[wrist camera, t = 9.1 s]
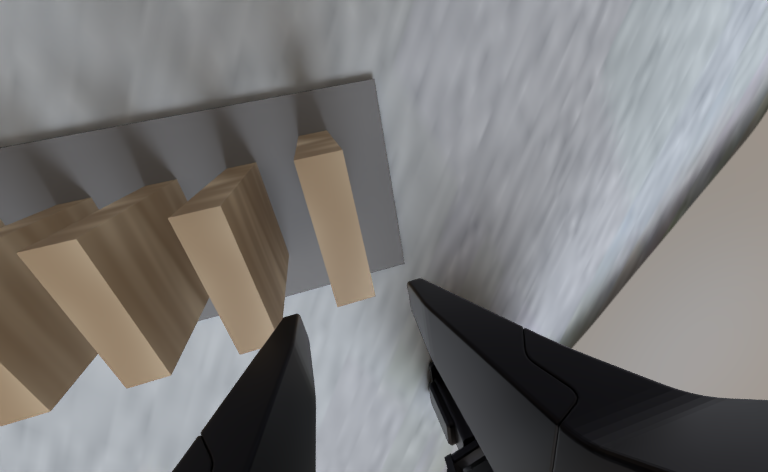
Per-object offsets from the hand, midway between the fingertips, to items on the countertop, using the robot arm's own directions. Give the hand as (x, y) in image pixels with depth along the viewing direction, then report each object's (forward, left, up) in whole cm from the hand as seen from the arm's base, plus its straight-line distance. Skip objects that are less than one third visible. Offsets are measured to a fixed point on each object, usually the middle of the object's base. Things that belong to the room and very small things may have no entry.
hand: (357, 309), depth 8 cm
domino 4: (0, -1, -11) cm, 11 cm away
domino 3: (+4, 0, -11) cm, 12 cm away
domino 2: (+8, 0, -11) cm, 14 cm away
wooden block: (+13, 0, -11) cm, 17 cm away
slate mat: (+8, 0, -12) cm, 14 cm away
